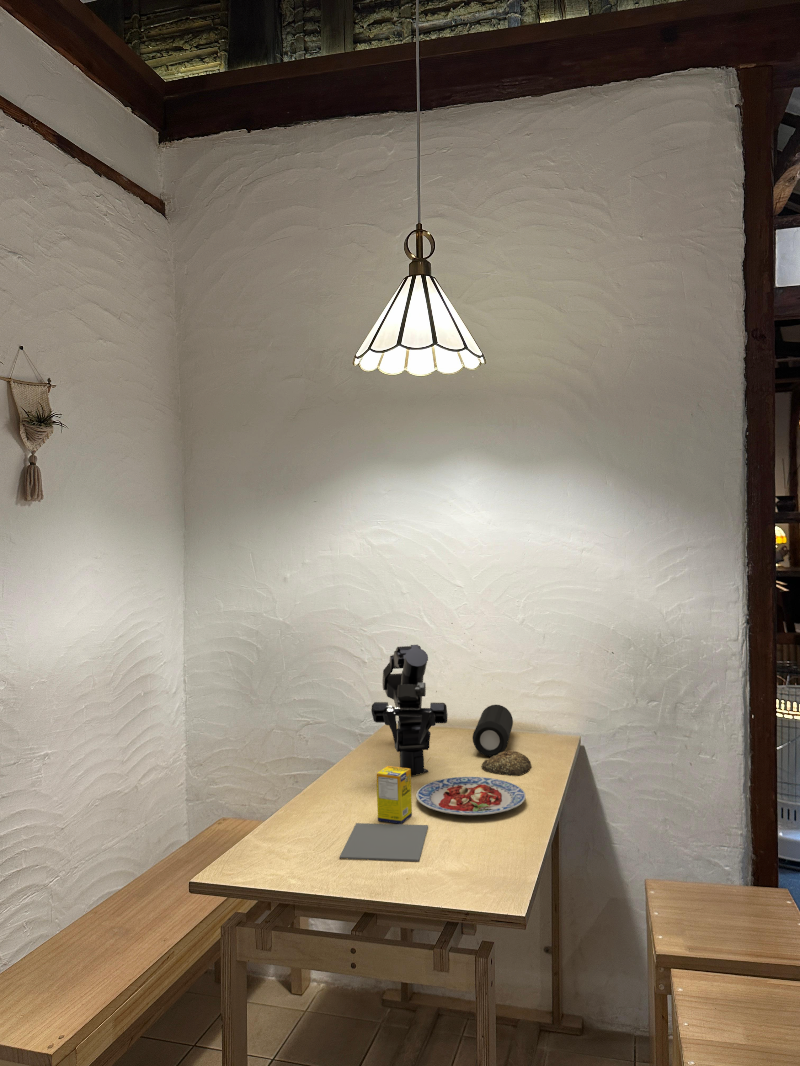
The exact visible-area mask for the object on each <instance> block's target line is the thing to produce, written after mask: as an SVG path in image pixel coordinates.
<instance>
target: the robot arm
mask: <svg viewBox="0 0 800 1066" xmlns="http://www.w3.org/2000/svg"><path fill="white" fill-rule="evenodd" d="M428 661H429V657H428V653H427V652H426V651H425V650H424V649H422V648H421V646H420V645H419V644H410V645H409V646H408V645H407V646H406V645H405V646H397V647H396V648H395V650H394V651H393V654H392V655H390V656H389V662H388V664H387V665H386V666H385V667H384V669H383V670H382V689H383V691H384V692H385V695H386V697H387V698H388V699H391V700H392V701H394V706H395V707H394V706H392V705H389V702H388V701H374V702H373V703H372V705H371V708H370V709H371V716H372V719H373V722H374V723H380V724H381V723H384V725H386V726H389V728H390V731H391V734H392V736H393V737H392V738H393V742H394V743H393V744H394V749H395V751H396V752H397V753H399V767H401V768H409V769H411V777H414V776H418V775H421V774H425V773H428V772H429V769H426V768H425V757H424V751H428V750H429V749H430V740H431V731H430V729H431V728H432V727H434V726H436V724H447V723H448V708H447V707H448V706H447V704H446V703H445V702H430V705H429V707H422V704H423V703H422V702H423V697H426V693H427V692H426V691H427V689H426V688H427V687H426V682H424V675H425V673H426V668H427V664H428ZM397 669H402V671H401V672H400V673H393V671H394V670H397ZM397 717H398V720H396V718H397Z"/></svg>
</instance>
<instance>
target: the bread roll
mask: <svg viewBox="0 0 800 1066" xmlns="http://www.w3.org/2000/svg"><path fill="white" fill-rule="evenodd" d="M480 767H481V769H482V770H483V771H485V772H488V771H489V772H488V773H492V772H493V773H494V774H499V775H504V774H508V775H507V776H511V775H518V776H520V774H522V775H524V774H523V773H525V772H526V773H527V772H529V771H530V769H531V767H532V763H531V760H530V759H529V757H528V756H526V755H525V754H523V753H521V752H518V751H516V750H515V751H514V750H510V749H509V750H507V751H505V750H504V751H503V752H501V753H499V754H497V755H496V756H490V758H487V759H486V758H485V760H484V761H483V762H482V764H481V766H480ZM528 770H529V771H528ZM526 773H525V774H526Z"/></svg>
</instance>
